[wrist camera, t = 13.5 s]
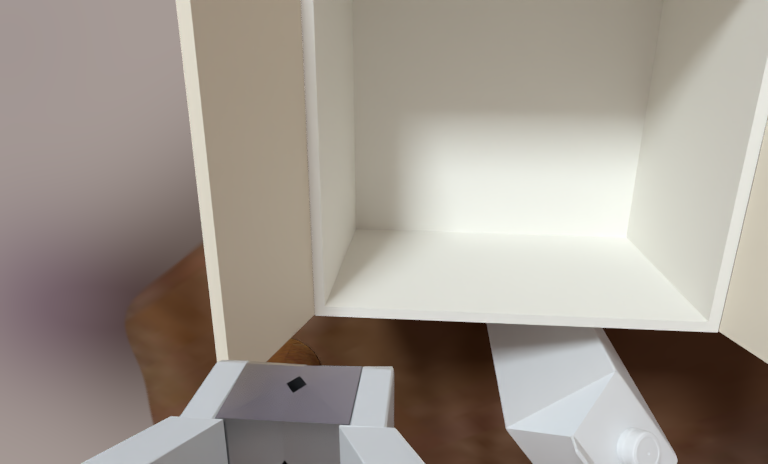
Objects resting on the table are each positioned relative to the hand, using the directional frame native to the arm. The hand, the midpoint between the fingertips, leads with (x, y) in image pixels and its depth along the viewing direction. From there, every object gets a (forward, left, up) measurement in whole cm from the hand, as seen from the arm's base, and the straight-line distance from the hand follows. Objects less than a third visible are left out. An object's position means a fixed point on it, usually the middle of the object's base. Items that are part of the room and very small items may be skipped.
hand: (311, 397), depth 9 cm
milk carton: (-16, -12, -34) cm, 39 cm away
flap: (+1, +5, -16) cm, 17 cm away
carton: (+1, -7, -34) cm, 34 cm away
